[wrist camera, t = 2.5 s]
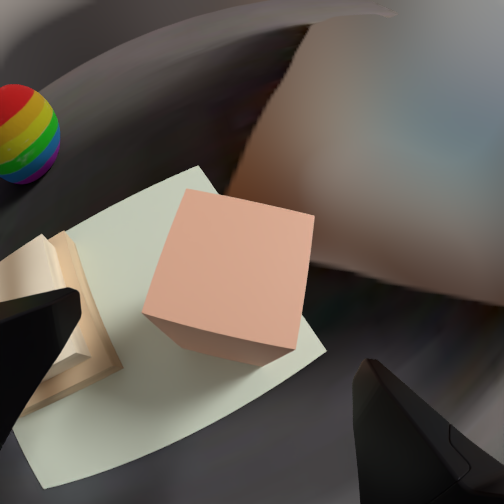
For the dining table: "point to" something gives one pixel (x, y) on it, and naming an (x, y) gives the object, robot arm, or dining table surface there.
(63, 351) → the stepped square platform
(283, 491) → the dining table surface
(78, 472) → the baseplate
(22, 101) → the decorative egg
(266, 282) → the terracotta brick
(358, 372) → the robot arm
